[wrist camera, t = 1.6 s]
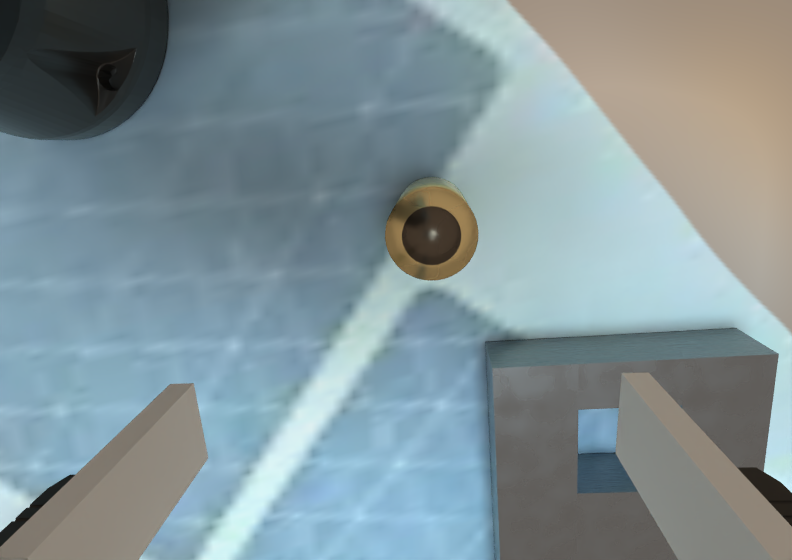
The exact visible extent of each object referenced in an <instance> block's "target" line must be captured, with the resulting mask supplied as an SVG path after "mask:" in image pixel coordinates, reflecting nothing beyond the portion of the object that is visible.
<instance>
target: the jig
mask: <svg viewBox="0 0 792 560" xmlns="http://www.w3.org/2000/svg"><path fill="white" fill-rule="evenodd" d="M485 347H486V370H487V392H488V415H489V437H490V460H491V483H492V505H493V528H494V550H495V560H678V559H677V557H676V555H675V554H674V552H673V550H672V549H671V547H670V545H669V543H668V542H667V540H666V538H665V537H664V535H663V533H662V532H661V530H660V528H659V526H658V525H657V523H656V521H655V520H654V518H653V516H652V515H651V513H650V511H649V509H648V508H647V506H646V504H645V503H644V501H643V499H642V498H641V496H640V494H639V492H638V491H637V489H636V487H635V486H634V484H633V482H632V481H631V479H630V477H629V475H628V474H627V472H626V470H625V469H624V467H623V465H622V464H621V462H620V460H619V458H618V457H617V455H616V453H597V454H578V410H580V409H604V408H619V401H620V388H621V375H622V373H649V374H650V375H651V376H652V377H653V378H654V379H655V380H656V381H657V382H658V383H659V384H660V385H661V386H662V388H663V389H664V390H665V391H666V392H667V393H668V394H669V395H670V396H671V397H672V398H673V399H674V400H675V402H676V403H677V404H678V405H679V406H680V407H681V408H682V409H683V410H684V411H685V412H686V413H687V414H688V416H689V417H690V418H691V419H692V420H693V421H694V422H695V423H696V424H697V425H698V426H699V427H700V428H701V430H702V431H703V432H704V433H705V434H706V435H707V436H708V437H709V438H710V439H711V440H712V441H713V442H714V443H715V445H716V446H717V447H718V448H719V449H720V450H721V451H722V452H723V453H724V454H725V455H726V456H727V457H728V459H729V460H730V461H731V462H732V463H733V464H734V465H735V466H736V467H737V468H739V467H756V468H758V469H760V470H761V471H764V463H765V455H766V448H767V440H768V432H769V425H770V417H771V409H772V401H773V394H774V386H775V378H776V371H777V363H778V355H779V354H778V353H776V352H774V351H773V350H771V349H769V348H768V347H766V346H765V345H763V344H761V343H760V342H758V341H756V340H755V339H753V338H751V337H750V336H748V335H746V334H745V333H743V332H742V331H740V330H738V329H737V328H730V329H711V330H693V331H675V332H657V333H639V334H621V335H602V336H584V337H566V338H548V339H530V340H512V341H493V342H485Z"/></svg>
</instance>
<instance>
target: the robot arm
mask: <svg viewBox="0 0 792 560" xmlns="http://www.w3.org/2000/svg"><path fill="white" fill-rule="evenodd" d="M167 34H168V13H167V3H166V0H0V132H3V133H6V134H10V135H14V136H19V137H24V138H29V139H39V140H77V139H84V138H89V137H93V136H97V135H100V134H102V133H105V132H107V131H109V130H111V129H113V128H115V127H117V126H118V125H120V124H121V123H123V122H124V121H125V120H127V119H128V118H129V117H130V116H131V115H132V114H133V113H134V112H135V111H136V110H137V109H138V108H139V107H140V106H141V105H142V103H143V102H144V101H145V99H146V98H147V97H148V95H149V93H150V92H151V90H152V88H153V86H154V84H155V82H156V80H157V78H158V75H159V73H160V70H161V67H162V63H163V59H164V55H165V50H166V44H167ZM616 455H617V457H618V458H619V460H620V462H621V464H622V465H623V467H624V469H625V470H626V472H627V474H628V475H629V477H630V479H631V481H632V482H633V484H634V486H635V487H636V489H637V491H638V492H639V494H640V496H641V498H642V499H643V501H644V503H645V504H646V506H647V508H648V509H649V511H650V513H651V515H652V516H653V518H654V520H655V521H656V523H657V525H658V526H659V528H660V530H661V532H662V533H663V535H664V537H665V538H666V540H667V542H668V543H669V545H670V547H671V549H672V550H673V552H674V554H675V555H676V557H677V559H678V560H792V493H791V492H790V491H789V490H788V489H787V488H786V487H785V486H784V485H783V484H782V483H781V482H779V481H778V480H776V479H774V478H773V477H771V476H769V475H768V474H766V473H764V472H763V471H761V470H760V469H758V468H756V467H739V468H737V467H736V466H735V465H734V464H733V463H732V462H731V461H730V460H729V459H728V457H727V456H726V455H725V454H724V453H723V452H722V451H721V450H720V449H719V448H718V447H717V446H716V445H715V443H714V442H713V441H712V440H711V439H710V438H709V437H708V436H707V435H706V434H705V433H704V432H703V431H702V430H701V428H700V427H699V426H698V425H697V424H696V423H695V422H694V421H693V420H692V419H691V418H690V417H689V416H688V414H687V413H686V412H685V411H684V410H683V409H682V408H681V407H680V406H679V405H678V404H677V403H676V402H675V400H674V399H673V398H672V397H671V396H670V395H669V394H668V393H667V392H666V391H665V390H664V389H663V388H662V386H661V385H660V384H659V383H658V382H657V381H656V380H655V379H654V378H653V377H652V376H651V375H650V374H649V373H622V375H621V388H620V401H619V414H618V427H617V440H616ZM207 459H208V454H207V449H206V444H205V439H204V434H203V429H202V424H201V419H200V414H199V409H198V404H197V398H196V393H195V388H194V383H191V384H170V385H169V386H168V387H167V388H166V389H165V390H164V391H163V392H161V393H160V394H159V395H158V396H157V397H156V398H155V399H154V400H153V401H152V402H151V403H150V404H149V405H148V406H147V407H146V408H145V409H144V410H143V411H142V412H141V413H140V414H138V415H137V416H136V417H135V418H134V419H133V420H132V421H131V422H130V423H129V424H128V425H127V426H126V427H125V428H124V429H123V430H122V431H121V432H120V433H119V434H118V435H117V436H116V437H114V438H113V439H112V440H111V441H110V442H109V443H108V444H107V445H106V446H105V447H104V448H103V449H102V450H101V451H100V452H99V453H98V454H97V455H96V456H95V457H94V458H93V459H92V460H90V461H89V462H88V463H87V464H86V465H85V466H84V467H83V468H82V469H81V470H80V471H79V472H78V473H77V474H76V475H69V476H67V477H66V478H64V479H62V480H61V481H59V482H58V483H56V484H54V485H53V486H51V487H49V488H48V489H47V490H46V491H44V492H43V493H42V494H41V495H40V496H39V497H38V498H37V499H36V500H35V501H34V502H33V503H32V504H30V507H29V508H26V509H25V510H24V511H23V512H22V513H21V514H20V515H19V516H17V517H16V520H15V522H11V523H10V524H9V525H8V526H7V527H6V528H4V529H3V530H2V531H1V532H0V560H139V558H140V557H141V555H142V554H143V552H144V551H145V549H146V548H147V546H148V545H149V544H150V542H151V541H152V539H153V538H154V536H155V535H156V533H157V532H158V530H159V529H160V528H161V526H162V525H163V523H164V522H165V520H166V519H167V517H168V516H169V514H170V513H171V511H172V510H173V509H174V507H175V506H176V504H177V503H178V501H179V500H180V498H181V497H182V495H183V494H184V493H185V491H186V490H187V488H188V487H189V485H190V484H191V482H192V481H193V479H194V478H195V477H196V475H197V474H198V472H199V471H200V469H201V468H202V466H203V465H204V463H205V462H206V460H207Z"/></svg>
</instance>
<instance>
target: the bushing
mask: <svg viewBox="0 0 792 560" xmlns="http://www.w3.org/2000/svg"><path fill="white" fill-rule="evenodd" d="M385 240H386V246H387V249H388V252H389V254H390V256H391V258H392V259H393V261H394V262H395V263H396V265H397V266H398V267H399V268H400V269H401V270H403V271H404V272H405V273H407V274H409V275H411V276H413V277H415V278H418V279H422V280H441V279H445V278H448V277H450V276H452V275H454V274H456V273H458V272H459V271H460V270H462V269H463V268H464V267H465V266H466V265H467V264H468V262H469V261H470V260H471V258H472V256H473V254H474V252H475V250H476V247H477V242H478V226H477V222H476V219H475V216H474V214H473V212H472V211H471V209H470V207H469V205H468V204H467V202H466V200H465V199H464V197H463V195H462V194H461V192H460V191H459V189H458V188H457V187H456V186H455V185H453V184H452V183H451V182H449V181H447V180H445V179H442V178H437V177H427V178H422V179H419V180H417V181H415V182H413V183H412V184H410V185H409V186H408V187H407V188H406V189H405V190H404V192H403V193H402V195H401V196H400V198H399V200H398V202H397V203H396V205H395V207H394V208H393V210H392V212H391V214H390V216H389V218H388V221H387V225H386V231H385Z"/></svg>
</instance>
